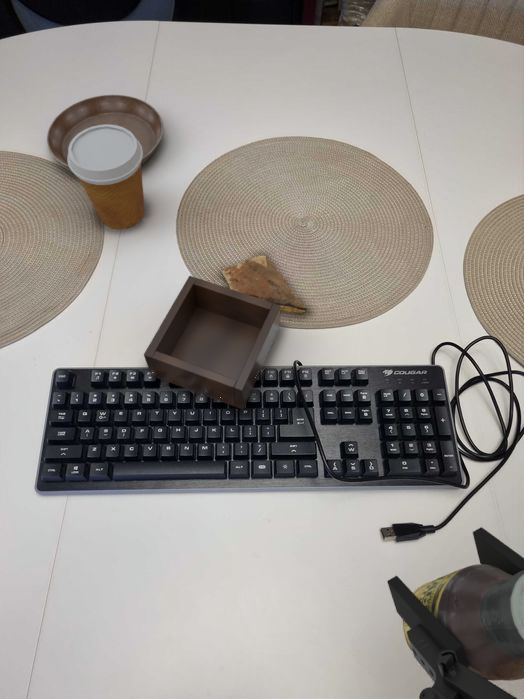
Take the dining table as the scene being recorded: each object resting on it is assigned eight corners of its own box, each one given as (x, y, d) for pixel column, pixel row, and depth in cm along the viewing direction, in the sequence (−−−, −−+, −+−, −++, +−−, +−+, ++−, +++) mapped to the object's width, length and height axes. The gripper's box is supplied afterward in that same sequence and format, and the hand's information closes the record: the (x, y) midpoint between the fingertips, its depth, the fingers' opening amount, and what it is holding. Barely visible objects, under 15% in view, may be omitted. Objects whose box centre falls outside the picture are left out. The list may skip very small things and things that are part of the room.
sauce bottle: (444, 569, 44) (566, 510, 27) (495, 646, 42) (666, 635, 24) (378, 611, 43) (463, 577, 25) (426, 694, 40) (558, 718, 23)
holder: (279, 330, 69) (281, 305, 64) (243, 411, 63) (242, 390, 58) (193, 301, 71) (189, 275, 66) (151, 377, 65) (143, 354, 61)
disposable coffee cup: (169, 215, 78) (156, 147, 68) (116, 250, 75) (93, 185, 65) (129, 181, 82) (110, 112, 71) (76, 214, 78) (49, 145, 68)
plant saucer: (43, 187, 81) (36, 171, 78) (61, 111, 90) (55, 94, 87) (162, 185, 81) (159, 169, 79) (168, 109, 90) (166, 93, 88)
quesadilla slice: (306, 316, 70) (307, 308, 68) (255, 341, 68) (255, 334, 66) (265, 259, 75) (265, 250, 73) (215, 280, 73) (215, 272, 71)
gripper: (722, 1373, 14) (331, 683, 35) (1121, 914, 18) (557, 546, 40) (703, 1261, 12) (298, 596, 33) (1164, 767, 16) (541, 460, 37)
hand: (439, 569), depth 36 cm, fingers closed on sauce bottle, 6 cm apart
